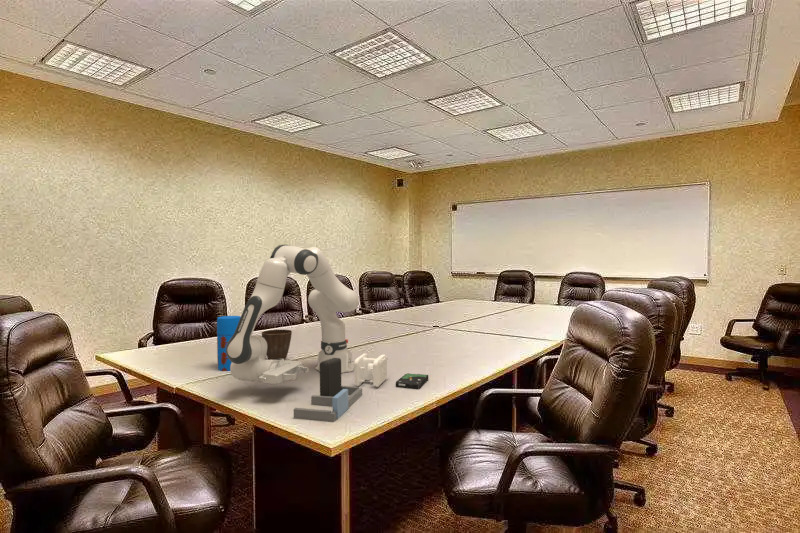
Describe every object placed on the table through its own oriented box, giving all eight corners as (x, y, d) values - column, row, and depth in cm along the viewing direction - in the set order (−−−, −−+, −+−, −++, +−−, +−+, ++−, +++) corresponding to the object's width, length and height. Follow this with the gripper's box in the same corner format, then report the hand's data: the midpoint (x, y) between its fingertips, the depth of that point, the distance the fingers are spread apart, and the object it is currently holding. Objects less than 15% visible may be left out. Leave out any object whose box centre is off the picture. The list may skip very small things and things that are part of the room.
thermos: (233, 371, 204) (233, 319, 203) (213, 370, 205) (212, 318, 205) (245, 365, 215) (245, 315, 214) (225, 365, 216) (225, 315, 216)
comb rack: (327, 391, 173) (327, 374, 172) (362, 394, 169) (362, 376, 169) (293, 417, 145) (293, 397, 145) (334, 421, 141) (334, 400, 141)
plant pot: (259, 361, 224) (259, 330, 223) (288, 358, 231) (287, 328, 230) (265, 368, 210) (264, 335, 210) (295, 364, 217) (295, 332, 217)
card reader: (334, 394, 169) (334, 356, 169) (342, 396, 167) (342, 357, 167) (318, 401, 161) (318, 361, 161) (327, 403, 159) (326, 363, 159)
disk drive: (419, 391, 175) (428, 380, 189) (419, 384, 175) (428, 374, 189) (395, 388, 179) (406, 378, 193) (395, 382, 178) (406, 372, 192)
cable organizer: (365, 377, 193) (365, 352, 192) (388, 379, 190) (388, 353, 190) (353, 387, 178) (353, 359, 178) (378, 389, 176) (378, 361, 175)
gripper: (254, 370, 160) (288, 372, 157) (282, 357, 180) (313, 359, 177) (255, 386, 160) (288, 389, 157) (282, 372, 180) (313, 374, 177)
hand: (302, 373), depth 167 cm, fingers open, 8 cm apart
